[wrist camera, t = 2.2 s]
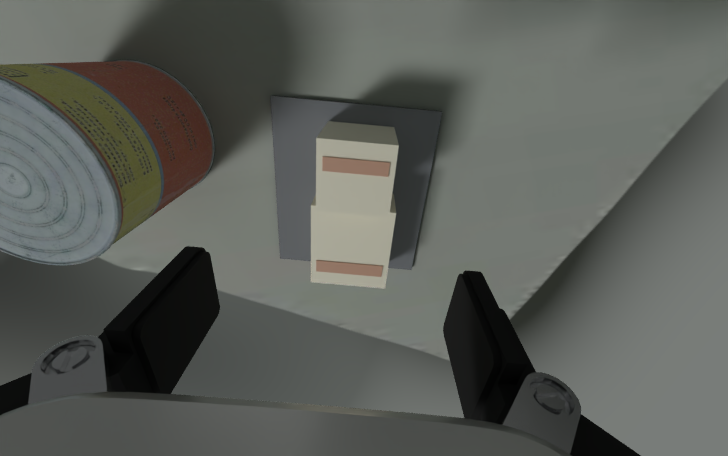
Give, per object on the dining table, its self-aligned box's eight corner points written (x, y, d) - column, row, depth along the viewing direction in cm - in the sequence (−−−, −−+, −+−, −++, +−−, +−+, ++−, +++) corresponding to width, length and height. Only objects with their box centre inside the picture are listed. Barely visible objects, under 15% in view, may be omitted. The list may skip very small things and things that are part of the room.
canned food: (61, 51, 24) (-175, 49, 14) (205, 68, 25) (79, 79, 14) (104, 185, 30) (-42, 255, 19) (221, 198, 30) (140, 274, 20)
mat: (441, 111, 26) (442, 112, 25) (410, 267, 33) (411, 269, 33) (271, 95, 25) (270, 96, 25) (281, 256, 33) (280, 258, 33)
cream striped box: (394, 190, 29) (396, 210, 25) (383, 263, 33) (384, 289, 29) (318, 184, 29) (310, 202, 25) (317, 257, 33) (310, 282, 29)
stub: (394, 127, 26) (399, 145, 21) (386, 187, 28) (389, 218, 23) (328, 120, 26) (316, 138, 20) (326, 182, 28) (315, 211, 23)
